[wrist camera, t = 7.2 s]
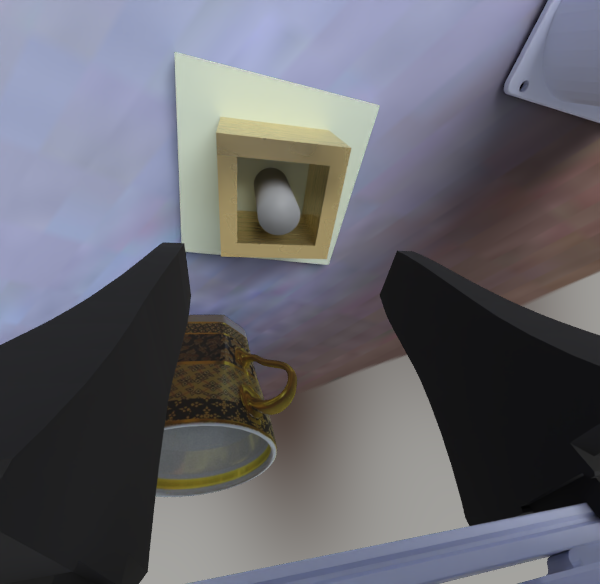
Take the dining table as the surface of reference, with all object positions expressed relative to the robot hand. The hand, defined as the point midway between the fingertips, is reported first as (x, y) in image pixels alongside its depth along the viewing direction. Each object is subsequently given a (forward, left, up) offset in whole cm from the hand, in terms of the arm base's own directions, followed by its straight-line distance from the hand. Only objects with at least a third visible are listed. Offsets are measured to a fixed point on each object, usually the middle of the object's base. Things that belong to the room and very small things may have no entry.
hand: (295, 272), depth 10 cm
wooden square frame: (0, 0, -9) cm, 9 cm away
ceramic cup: (+2, +13, -10) cm, 17 cm away
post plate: (0, 0, -10) cm, 10 cm away
